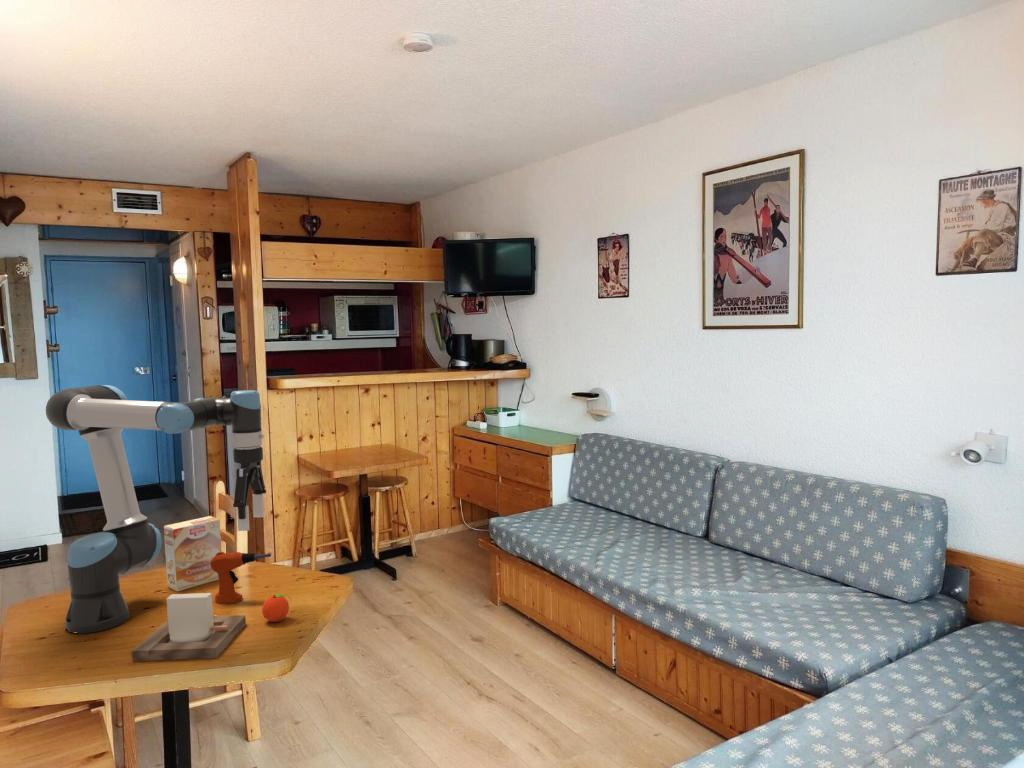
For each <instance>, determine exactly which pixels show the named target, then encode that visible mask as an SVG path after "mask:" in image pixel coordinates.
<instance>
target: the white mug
mask: <svg viewBox="0 0 1024 768" xmlns="http://www.w3.org/2000/svg"><path fill="white" fill-rule="evenodd" d="M212 595H213V593H212V592H205V593H203V592H200V593H179V594H178V593H176V594H175V593H174V594H173V593H172V594H170V595H169V596H168V597H167V598H166V609H167V611H166V613H167V620H168V628H169V634H170V643H177V642H204V641H207V640H208V639H209V638H210V636H211V635H212V634H213V631H216V630H227V629H228V625H225V626H214V623H213V616H214V609H213V596H212Z"/></svg>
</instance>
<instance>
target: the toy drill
mask: <svg viewBox="0 0 1024 768" xmlns="http://www.w3.org/2000/svg"><path fill="white" fill-rule="evenodd" d="M271 556H272V554H271V553H270V552H269V553H264V554H262V553H261V554H256V553H252V552H251V553H249V552H247V553H245V552H240V551H234V552H224V551H221V552H218V553H217V554H216V555H215V556H214V557H213V558H212V560H211V562H210V565H211V568H212V569H213V571H215V572H216V573H218V577H219V580H218V582H219V583H218V584H219V585H218V587H219V588H218V592H217V593H216V594H215V596H214V602H215V603H217V604H235V602H236V603H239V602H241V601H242V600H243V594H241V593H239V592H237V591H236V590H235V584H236V583H237V582H238V581H239V577H237V576H236V573H235V571H233V570H235V569H237V568H239V567H242V566H245V565H246V564H249V563H254V562H255V561H256V559H257V560H259V559H263V558H269V557H271ZM241 599H242V600H241ZM240 600H241V601H240ZM238 601H239V602H238Z"/></svg>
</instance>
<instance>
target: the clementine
mask: <svg viewBox="0 0 1024 768" xmlns="http://www.w3.org/2000/svg"><path fill="white" fill-rule="evenodd" d="M285 596H286V597H288V598H289V599H291V597H290V596H288V595H287V594H284V593H281V594H274V595H270V596H269V597H267V598H266V599H265V601H264V602H263V604H262V606H261V608H262V609H261V611H262V615H263V617H264V618H265V619H266V620H267V621H269V622H272V623H277V622H281V621H282V620H283V619H285V618H286V616H287V615H288V613H289V611H290V604H289V601H288V600H287V599H286V597H285Z"/></svg>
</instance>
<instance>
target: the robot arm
mask: <svg viewBox="0 0 1024 768" xmlns="http://www.w3.org/2000/svg"><path fill="white" fill-rule="evenodd" d="M45 415H46V418H47V420H48V421H49V423H50V424H51V425H52V426H53V427H55V428H57V429H59V430H62V431H63V430H64V431H78V433H79V437H80V438H82V439H83V440H85V441H87V445H88V449H89V453H90V457H91V460H92V465H93V470H94V472H95V473H94V474H95V476H96V481H97V485H98V489H99V493H100V498H101V502H102V506H103V510H104V515H105V517H106V521H107V522H106V524H105V525H104V527H103V528H102V532H97V533H96V532H95V533H93V534H87V535H85V536H83V537H80V538H78V539H76V540H74V541H72V542H71V543H70V545H69V546H68V549H67V559H66V563H67V568H68V578H69V590H70V603H69V604H68V608H67V612H66V617H65V621H64V625H65V630H66V629H67V630H68V631H71V632H77V633H76V634H91V633H97V632H102V631H106V630H109V629H112V628H114V627H117V626H120V625H121V624H123V623H125V622H126V621H128V619H129V618H130V610H129V606H128V604H127V602H126V600H125V598H124V596H123V594H122V592H121V585H120V576H123V575H124V574H126V573H129V572H131V571H133V570H136V569H138V568H142V567H144V566H146V565H147V564H149V563H151V562H153V561H154V560H155V559H156V558H157V557H158V555H159V554H160V552H161V551H162V546H163V541H162V540H163V539H162V534H161V532H160V529H158V527H156V525H154V524H152V523H150V522H149V519H148V516H146V515H144V514H142V513H141V511H140V507H139V506H140V505H139V503H138V499H137V495H136V490H135V486H134V482H133V478H132V474H131V470H130V467H129V462H128V457H127V454H126V450H125V446H124V445H125V444H124V442H123V441H124V440H123V437H122V432H123V431H124V430H125V429H127V430H129V429H130V430H149V431H163V432H164V433H165V434H169V435H171V434H173V435H174V434H182V433H185V432H189V431H194V430H198V429H203V428H208V427H213V426H231V428H232V429H231V430H232V434H231V435H232V446H233V447H234V449H233V462H234V463H236V464H240V468H236V471H235V472H236V473H235V474H236V479H235V480H236V481H235V489H234V498H233V499H234V501H233V505H232V507H233V508H236V512H237V516H236V517H237V532H243V531H244V532H245V531H247V532H248V531H250V513H249V510H250V509H249V505H248V500H249V495H250V490H251V489H252V492H253V494H252V514H253V515H252V516H253V518H264V517H265V513H264V511H265V510H264V494H266V493H267V490H266V485H265V481H264V480H265V479H264V476H263V472H262V466H261V465H262V464H261V462H262V461H263V459H264V452H263V449H264V448H263V447H262V445H263V439H264V437H265V435H264V434H262V404H261V397H260V393H259V391H257V390H254V389H253V390H251V389H250V390H249V389H247V390H234V391H232V392H231V393H230V397H227V398H226V397H208V396H207V397H198V398H195V399H193V400H190V401H183V402H178V401H177V402H176V401H175V402H174V401H151V400H132V399H131V400H130V399H129V400H128V397H127V396H126V394H125V393H124V392H123V391H122V390H121V389H119V388H117V387H116V386H113V385H108V384H107V385H106V384H105V385H102V384H98V385H90V386H81V387H74V388H73V387H72V388H64V389H62V390H58V391H57V392H55V393H54V394H53V395H52V396H50V397H49V399H48V401H47V402H46V406H45ZM68 631H67V632H68Z"/></svg>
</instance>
